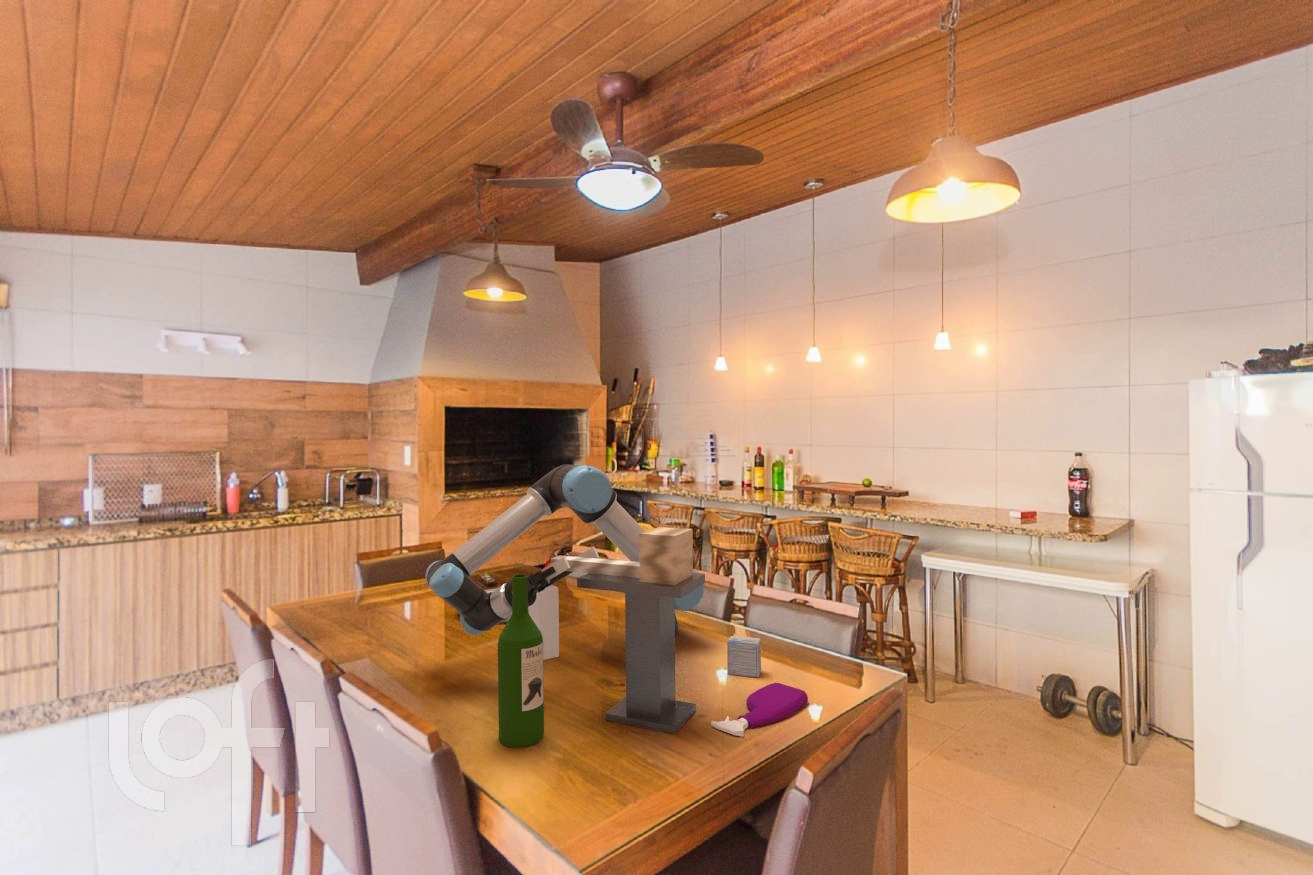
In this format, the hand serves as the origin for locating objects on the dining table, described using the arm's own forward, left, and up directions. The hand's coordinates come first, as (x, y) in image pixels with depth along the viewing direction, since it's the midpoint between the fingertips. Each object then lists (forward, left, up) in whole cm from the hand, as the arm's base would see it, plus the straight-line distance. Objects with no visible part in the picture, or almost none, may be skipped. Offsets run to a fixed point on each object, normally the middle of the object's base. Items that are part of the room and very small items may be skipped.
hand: (582, 556), depth 147 cm
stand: (-6, +13, -33) cm, 36 cm away
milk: (-9, -33, -33) cm, 47 cm away
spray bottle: (-25, +31, -34) cm, 52 cm away
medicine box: (-40, +12, -33) cm, 54 cm away
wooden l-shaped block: (-4, +8, -3) cm, 9 cm away
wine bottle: (+19, +5, -33) cm, 39 cm away
